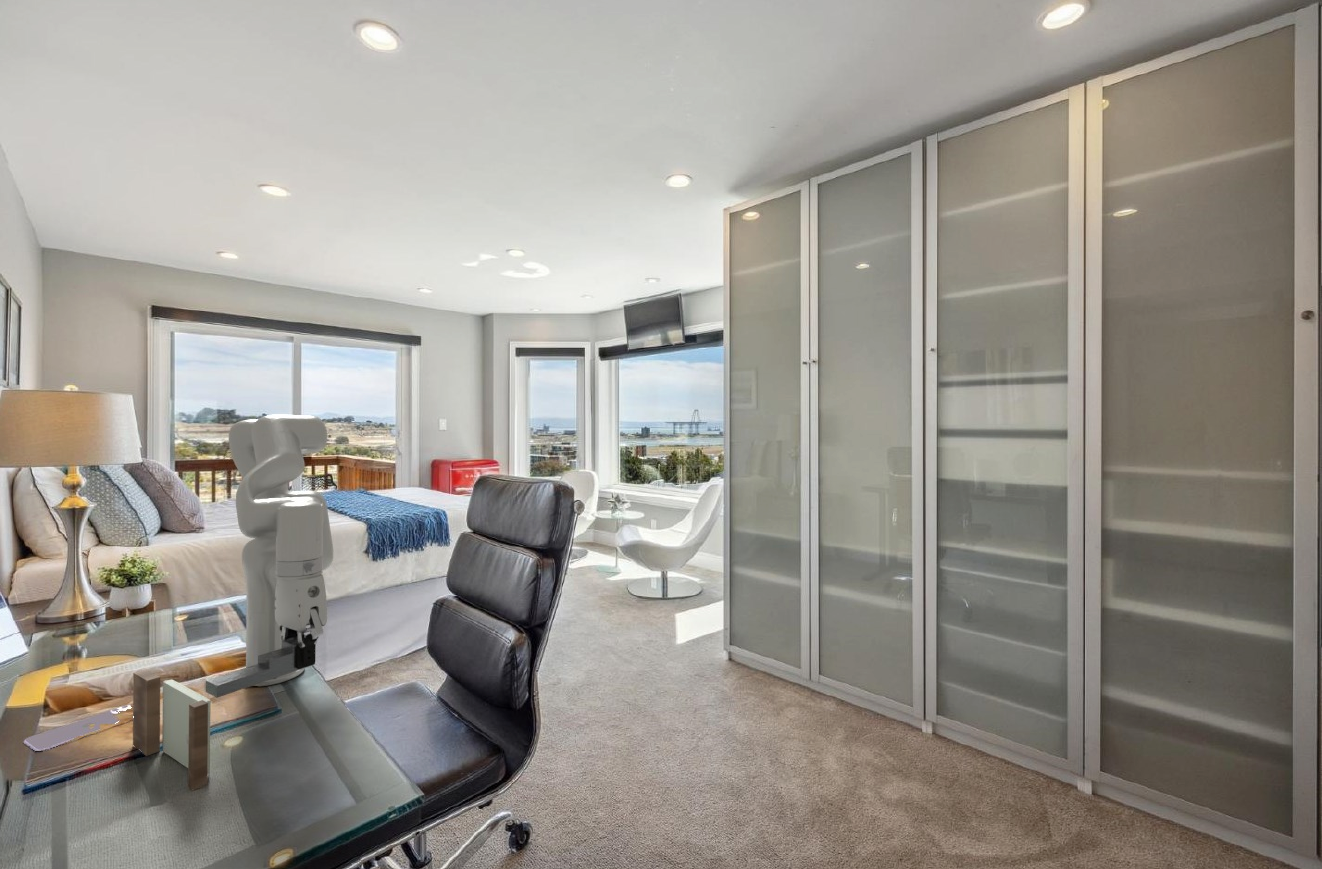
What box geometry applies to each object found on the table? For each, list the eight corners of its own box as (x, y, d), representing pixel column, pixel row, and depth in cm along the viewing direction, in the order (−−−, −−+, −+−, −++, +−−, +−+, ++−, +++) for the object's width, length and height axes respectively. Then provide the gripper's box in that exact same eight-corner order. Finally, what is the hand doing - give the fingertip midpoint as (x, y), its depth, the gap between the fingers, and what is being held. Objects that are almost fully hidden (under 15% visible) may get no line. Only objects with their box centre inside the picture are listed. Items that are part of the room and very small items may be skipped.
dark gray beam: (303, 659, 112) (303, 634, 112) (314, 664, 110) (315, 638, 110) (205, 691, 98) (205, 662, 98) (216, 697, 96) (217, 667, 96)
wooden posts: (132, 746, 101) (133, 672, 101) (145, 741, 103) (146, 669, 102) (193, 790, 90) (194, 707, 89) (207, 784, 91) (207, 702, 91)
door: (153, 752, 99) (153, 682, 99) (169, 745, 101) (169, 677, 100) (193, 780, 91) (194, 705, 91) (209, 773, 93) (210, 700, 93)
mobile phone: (21, 737, 102) (130, 702, 115) (21, 743, 102) (129, 707, 115) (37, 749, 98) (147, 712, 112) (37, 755, 98) (147, 717, 112)
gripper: (345, 569, 108) (344, 666, 108) (296, 558, 116) (295, 648, 116) (303, 577, 101) (302, 681, 102) (254, 565, 110) (254, 660, 110)
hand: (298, 662), depth 109 cm, fingers closed on dark gray beam, 4 cm apart
